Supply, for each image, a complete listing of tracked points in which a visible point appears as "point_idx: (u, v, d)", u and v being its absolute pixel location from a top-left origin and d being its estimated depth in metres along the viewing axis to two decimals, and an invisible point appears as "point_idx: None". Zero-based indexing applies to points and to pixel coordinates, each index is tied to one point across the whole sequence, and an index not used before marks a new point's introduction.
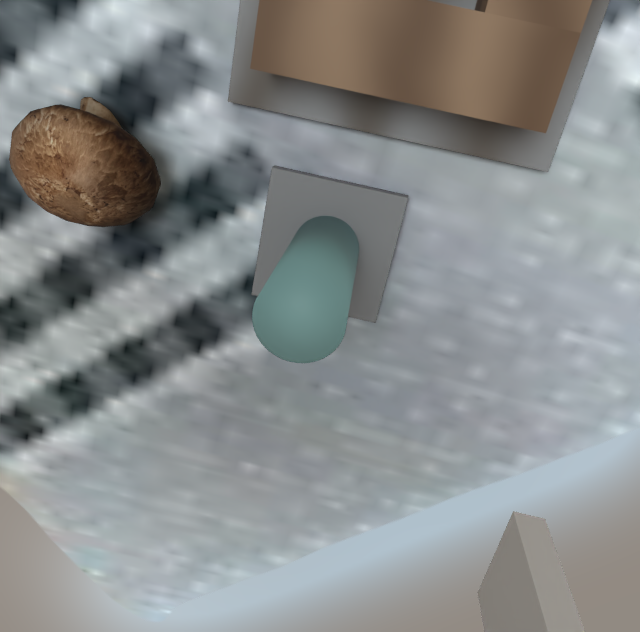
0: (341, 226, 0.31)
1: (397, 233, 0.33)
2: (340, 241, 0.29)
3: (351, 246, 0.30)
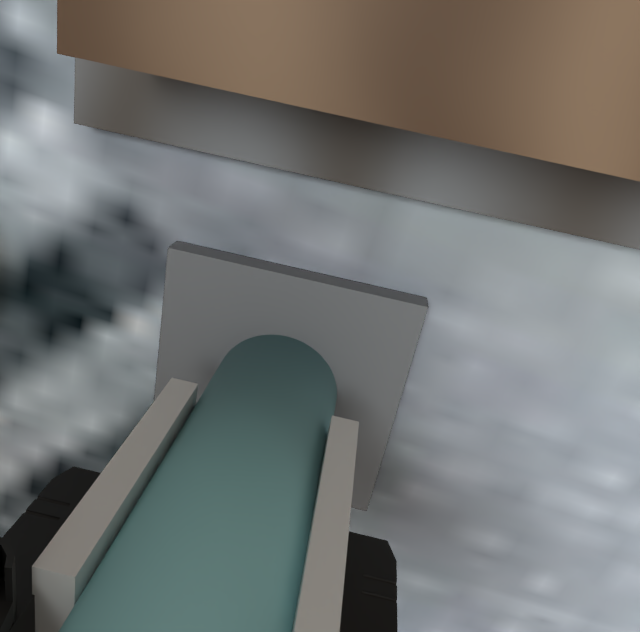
0: (300, 364, 0.16)
1: (407, 368, 0.17)
2: (290, 421, 0.14)
3: (316, 417, 0.15)
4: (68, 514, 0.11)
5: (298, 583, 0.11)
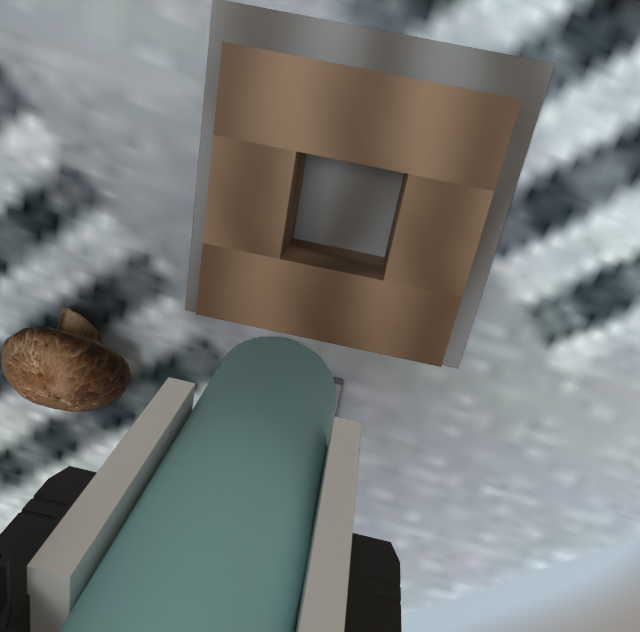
0: (299, 366, 0.16)
1: (334, 412, 0.38)
2: (288, 424, 0.14)
3: (315, 419, 0.15)
4: (64, 514, 0.11)
5: (296, 586, 0.11)
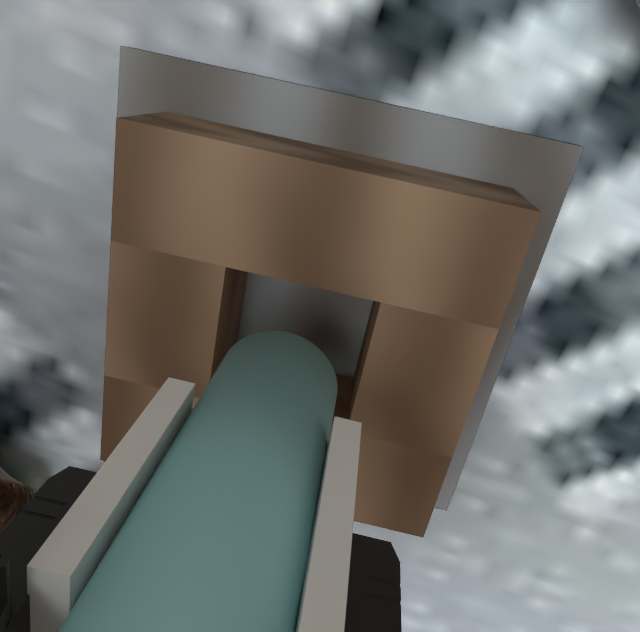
0: (301, 359, 0.17)
1: None
2: (291, 414, 0.14)
3: (317, 411, 0.15)
4: (64, 513, 0.11)
5: (300, 569, 0.11)
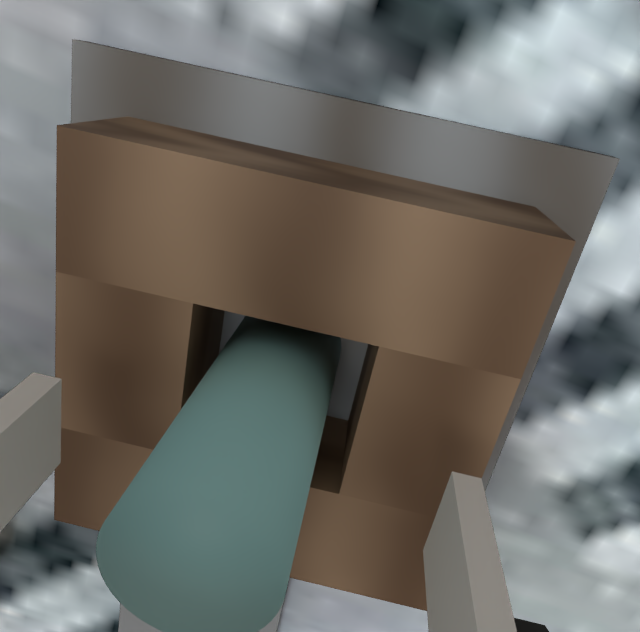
0: None
1: (280, 608, 0.27)
2: (301, 356, 0.17)
3: (323, 357, 0.18)
4: None
5: (307, 466, 0.14)
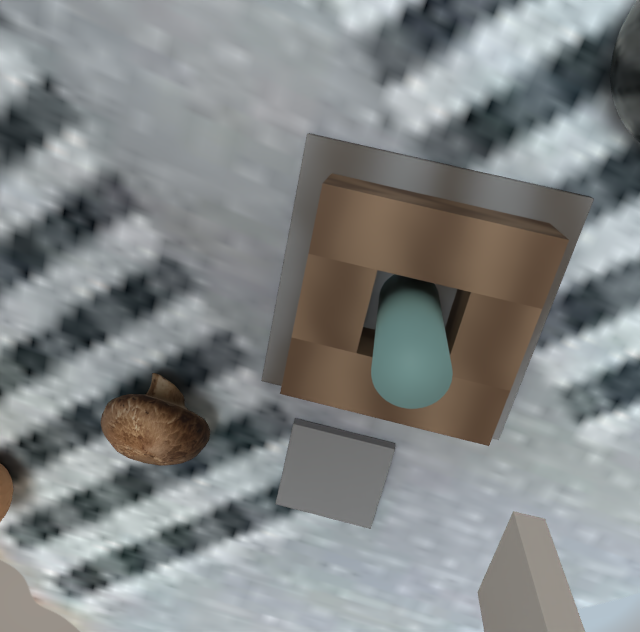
0: None
1: (387, 471, 0.43)
2: (431, 298, 0.33)
3: (438, 301, 0.34)
4: None
5: None
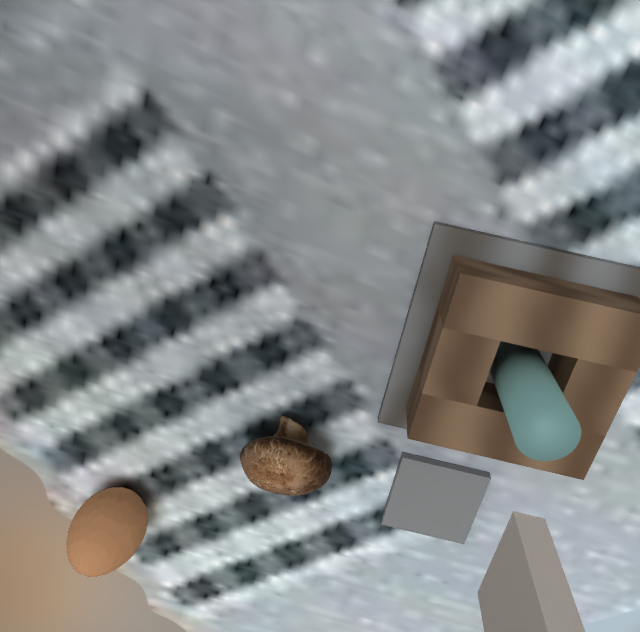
0: None
1: (482, 496, 0.50)
2: (543, 362, 0.40)
3: (545, 362, 0.41)
4: None
5: None
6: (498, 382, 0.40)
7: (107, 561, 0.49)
